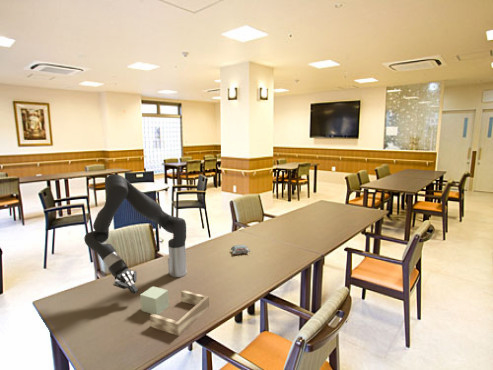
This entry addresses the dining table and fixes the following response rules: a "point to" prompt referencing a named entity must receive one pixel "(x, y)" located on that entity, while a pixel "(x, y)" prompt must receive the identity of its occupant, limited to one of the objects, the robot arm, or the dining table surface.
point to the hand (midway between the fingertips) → (135, 292)
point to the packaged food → (240, 249)
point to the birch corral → (187, 319)
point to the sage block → (154, 300)
